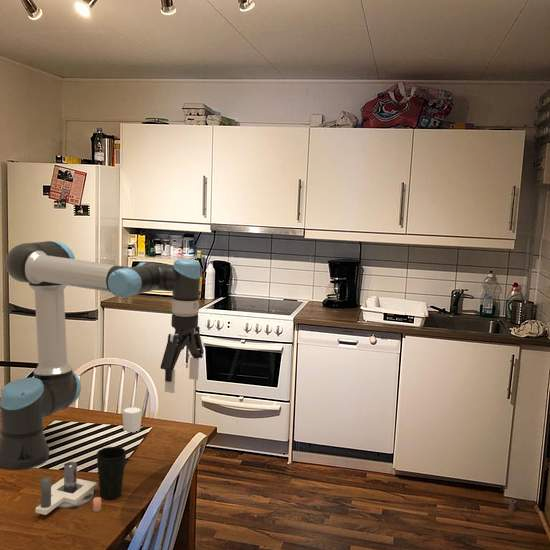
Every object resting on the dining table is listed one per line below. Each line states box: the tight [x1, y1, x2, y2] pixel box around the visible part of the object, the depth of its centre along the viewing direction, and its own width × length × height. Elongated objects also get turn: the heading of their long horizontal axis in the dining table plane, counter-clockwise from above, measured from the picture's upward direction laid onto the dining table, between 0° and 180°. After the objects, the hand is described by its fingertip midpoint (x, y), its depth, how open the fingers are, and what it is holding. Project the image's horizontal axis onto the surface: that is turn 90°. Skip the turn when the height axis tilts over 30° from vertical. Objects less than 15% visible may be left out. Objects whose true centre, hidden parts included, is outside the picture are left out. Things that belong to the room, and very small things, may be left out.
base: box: [56, 461, 95, 509], centre depth 160 cm, size 12×12×9 cm
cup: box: [96, 446, 127, 501], centre depth 162 cm, size 8×8×12 cm
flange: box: [35, 476, 98, 516], centre depth 157 cm, size 17×10×8 cm, turn 163°
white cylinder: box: [121, 406, 143, 433], centre depth 207 cm, size 7×7×7 cm
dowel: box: [92, 496, 102, 513], centre depth 155 cm, size 2×2×3 cm
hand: (181, 385), depth 174 cm, fingers open, 13 cm apart
